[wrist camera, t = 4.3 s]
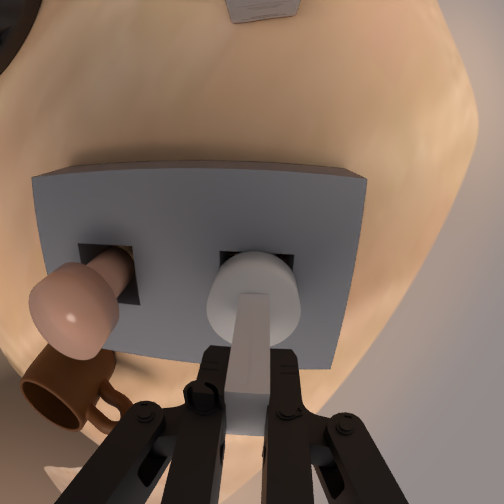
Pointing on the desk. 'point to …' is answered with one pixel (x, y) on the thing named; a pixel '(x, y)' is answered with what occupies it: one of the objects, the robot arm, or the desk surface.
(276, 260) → the grey plug
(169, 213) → the panel
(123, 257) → the terracotta plug
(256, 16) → the ink box
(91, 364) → the mug
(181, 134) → the desk surface
